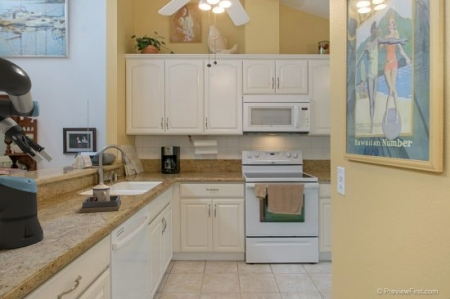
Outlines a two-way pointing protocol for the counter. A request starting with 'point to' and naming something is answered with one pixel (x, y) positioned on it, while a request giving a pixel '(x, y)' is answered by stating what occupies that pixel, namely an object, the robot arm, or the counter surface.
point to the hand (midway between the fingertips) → (46, 160)
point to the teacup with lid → (101, 193)
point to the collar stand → (101, 205)
